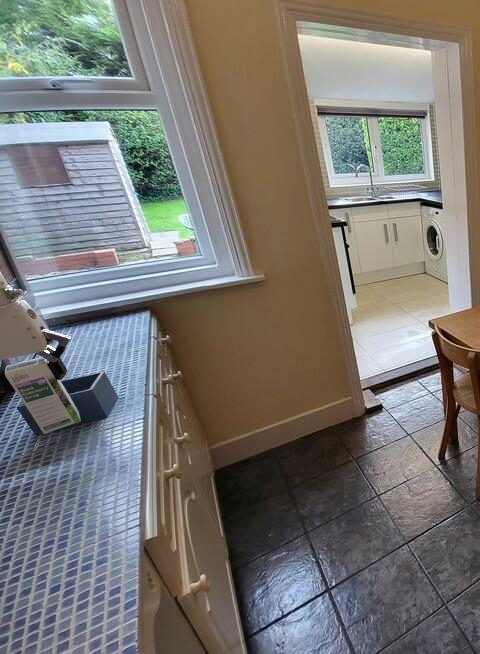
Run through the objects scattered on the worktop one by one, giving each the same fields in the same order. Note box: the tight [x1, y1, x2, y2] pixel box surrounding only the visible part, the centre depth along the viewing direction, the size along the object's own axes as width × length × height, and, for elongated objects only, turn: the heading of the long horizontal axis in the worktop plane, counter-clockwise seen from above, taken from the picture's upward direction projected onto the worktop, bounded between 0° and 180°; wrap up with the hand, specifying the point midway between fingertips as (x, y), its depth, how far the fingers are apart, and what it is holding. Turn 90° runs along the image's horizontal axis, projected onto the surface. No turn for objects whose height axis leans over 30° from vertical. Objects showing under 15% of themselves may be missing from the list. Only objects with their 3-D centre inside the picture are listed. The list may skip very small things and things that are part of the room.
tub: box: [16, 370, 119, 437], centre depth 95 cm, size 12×10×8 cm
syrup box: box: [4, 356, 81, 435], centre depth 85 cm, size 6×6×14 cm
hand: (36, 382), depth 83 cm, fingers closed on syrup box, 6 cm apart
